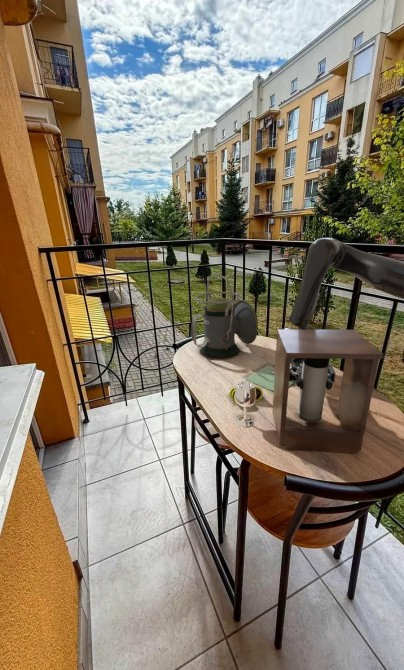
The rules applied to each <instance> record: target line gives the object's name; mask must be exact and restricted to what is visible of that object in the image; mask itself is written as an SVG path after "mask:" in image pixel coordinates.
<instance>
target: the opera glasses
mask: <svg viewBox="0 0 404 670" xmlns="http://www.w3.org/2000/svg"><path fill="white" fill-rule="evenodd" d="M254 386H255V390H256V401H255V402H259V401H260V400H261V399H262V398H263V395H264V393H263V392H264V391H263V390H262V388H260V386H258V385H254ZM235 390H236V387H233V388H231V389H230V390H229V394H228V395H229V398H230V399H231V400H232V401H234V403H235V405H238V404H237V402H236V400H235ZM238 406H239V405H238Z"/></svg>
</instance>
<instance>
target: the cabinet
mask: <svg viewBox="0 0 404 670" xmlns="http://www.w3.org/2000/svg"><path fill="white" fill-rule="evenodd" d="M275 345H276V347H275V362H274V374H275V378H274V392H273V396H272V397H273V398H272V417H273V421H274V429H275V432H276V437H277V441H278V447H283V449H284V450H285V451H299V452H300V451H301V452H315V453H316V452H319V453H339V454H340V453H341V454H354V455H355V454H356V455H357V454H358V453H359V451H362V447H363V442H364V436H365V432H366V427H367V421H368V418H369V417H368V416H369V412H370V406H371V402H372V397H373V391H374V388H375V387H374V386H375V381H376V377H377V371H378V367H379V361H380V360H383V358H384V353H383V352H382V351H380V349H378V348H377V347H376V346H374V345H373V344H372V343H371V342H370V341H368V340H367V338H365V337H364V336H362V334H360V333H359V332H358V331H357V330H356V329H308V330H300V329H294V330H281V329H277V330H276V344H275ZM291 358H330V359H332V360H333V359H334V360H335V359H336V360H337V359H341V360H344V365H343V371H342V378H341V386H340V392H339V397H338V398H339V399H338V403H337V404H338V405H337V410H336V416H337V418H338V420H339V422H340V423H341V425H342V427H343V429H341V428H339V429H338V428H316V427H296V426H295V427H294V426H293V427H292V426H286V425H287V411H288V399H289V398H288V397H289V387H290V386H289V375H290V366H291ZM330 359H329V360H330Z"/></svg>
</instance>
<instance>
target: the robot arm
mask: <svg viewBox="0 0 404 670" xmlns="http://www.w3.org/2000/svg"><path fill="white" fill-rule="evenodd" d="M329 269H333V270H337V271H341V272H344V273H347V274H350V275H351V276H354V277H355V278H357V279H359V280H360V281H362V282H363V283H364V284H367V285H368V286H370V287H372V288H373V289H376V290H378V291H380V292H382V293H385V294H388V295H390V296H392V297H395V298H399V299H402V300H404V261H401V260H398V259H394V258H391V257H387V256H384V255H379V254H374V253H370V252H365V251H363V250H359V249H357V248H355V247H353V246H350V245H348V244H346V243H344V242H342V241H340V240H338V239H336V238H333V237H322V238H318V239H316V240H314V241H313V242H312V243H311V244H310V245H309V247H308V250H307V254H306V260H305V265H304V269H303V275H302V279H301V283H300V286H299V290H298V292H297V296H296V298H295V301H294V304H293V307H292V310H291V312H290V315H289V318H288V319H289V320H288V321H289V323H290V324H292V325H293V326H296V327H297V328H299V330H309V328H310V327H309V326H310V324H311V323H310V322H311V320H312V318H313V315H314V313H315V310H316V307H317V303H318V299H319V293H320V290H321V289H320V288H321V285H322V283H323V281H324V278H325V277H326V276H327V275H326V274H327V273H328V271H329ZM280 330H295V328H290V327H284V328H281V329H280ZM303 359H304V358H291V363H290V375H289V381H292V380H293V381H294V382H295V383H294V384H295V385H296V387H297V388H298V389H299V390H300V389H303V385H304V382H303V380H302V367H303ZM336 376H337V375H336V371H335V369H334V367H333V364H330V363H329V367H328V375H327V382H326V390H327V391H328V390H329V391H331V389H332V388H333V384H334V383H335V381H336Z"/></svg>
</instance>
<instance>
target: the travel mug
mask: <svg viewBox="0 0 404 670" xmlns="http://www.w3.org/2000/svg"><path fill="white" fill-rule="evenodd" d="M329 364H330V358H304V359H303V367H302V380H303V382H304V385H303V389H300V388H299V396H298V407H297V416H298V418H299V419H301V420H302V421H303V422H306V423H310V424H312V423H313V424H315V423H319V422H320V421H321V420H322V416H323V410H324V404H325V403H324V402H325V397H326V390H327V388H326V382H327V375H328V367H329Z"/></svg>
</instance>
